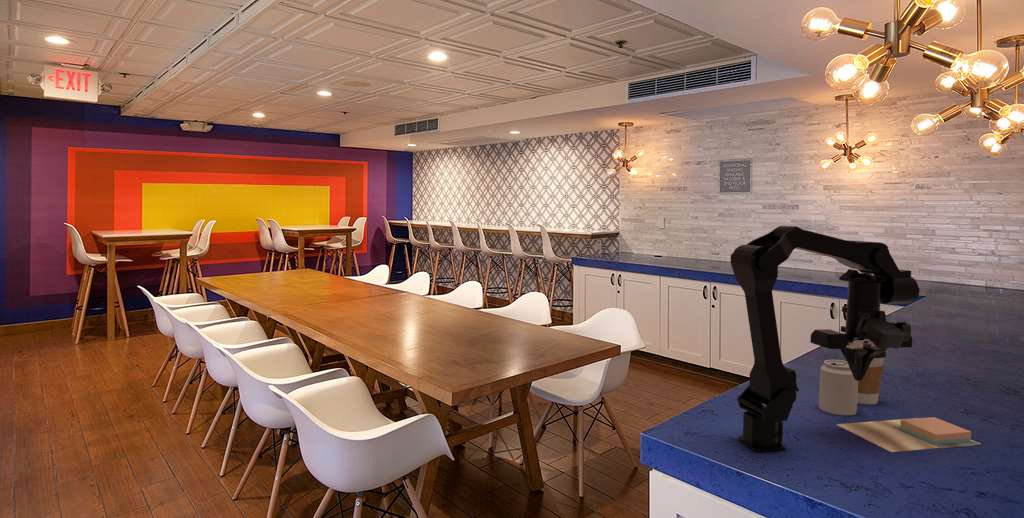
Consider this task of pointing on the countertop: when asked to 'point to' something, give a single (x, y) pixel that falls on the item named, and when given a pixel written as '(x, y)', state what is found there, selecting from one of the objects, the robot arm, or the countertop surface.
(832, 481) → the countertop surface
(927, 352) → the countertop surface
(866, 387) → the coffee cup
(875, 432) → the board
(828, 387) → the can
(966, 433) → the tile
